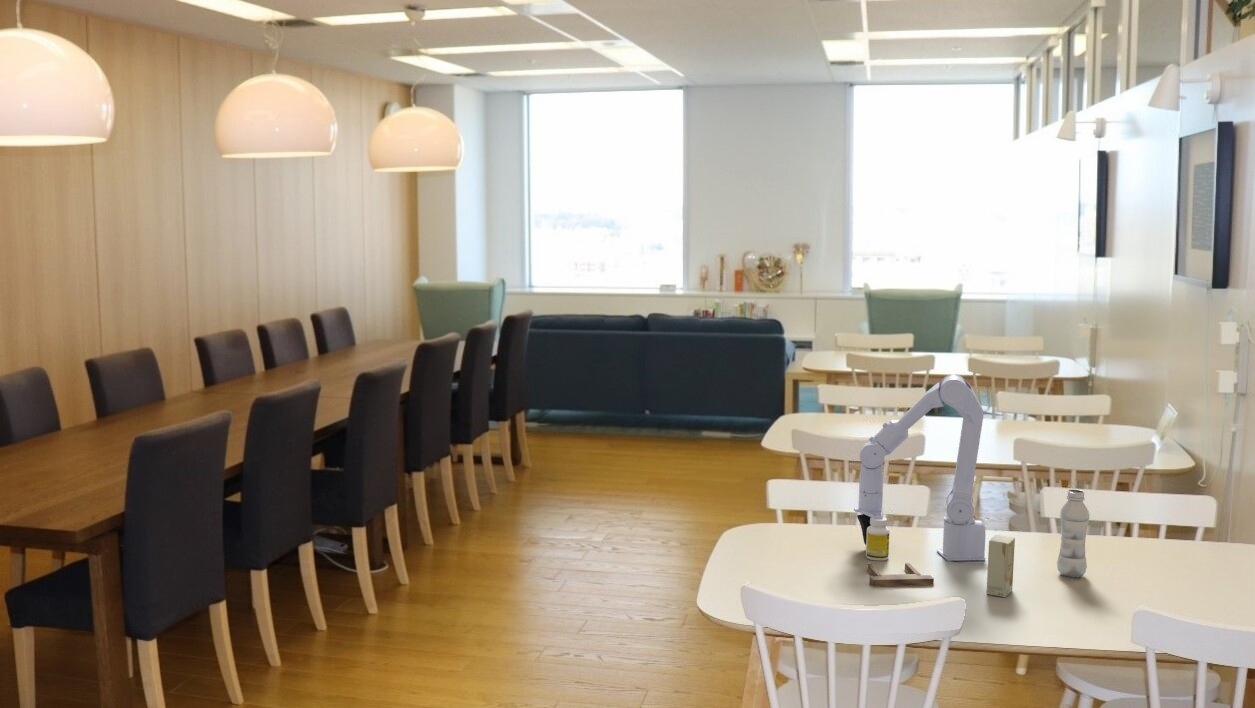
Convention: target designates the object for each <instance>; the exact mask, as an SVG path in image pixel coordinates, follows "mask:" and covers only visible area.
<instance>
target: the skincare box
mask: <svg viewBox="0 0 1255 708" xmlns="http://www.w3.org/2000/svg"><path fill="white" fill-rule="evenodd" d="M1015 540H1016V537H1014V536H1013V537H1012V536H1008V535H1000V534H996V535H994V536H992V538H991V539H989V540H988V553H987V554H988V557H987V576H986V577H987V578H986V592H985V593H986V594H987V595H991V596H996V597H1001V598H1007V596H1008V595H1010V594H1011V592H1012V591H1013V583H1014V561H1015V547H1016V546H1015V543H1016V541H1015Z"/></svg>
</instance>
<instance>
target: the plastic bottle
mask: <svg viewBox="0 0 1255 708" xmlns="http://www.w3.org/2000/svg"><path fill="white" fill-rule="evenodd" d="M1066 499H1067V501H1066V502H1065V504H1064V505H1062V507H1061V509H1060V511H1059V518H1060V527H1061V529H1060V530H1061V531H1060V535H1061V536H1060V540H1061V541H1060V547H1059V553H1058V557H1057V561H1056V567H1057V571H1058V572H1059V574H1060V575H1062V576H1065V577H1070V578H1081V577H1083V576H1084V575H1085V574H1086V571H1087V569H1088V566H1087V557H1086V538H1087V532H1088V531H1087V530H1088V526H1089V522H1090V512H1089V510H1088V508H1087V507H1088V506H1086V505H1085V503H1084V501H1085V500H1086V499H1085V491H1084V490H1081V489H1068V490H1067V495H1066Z"/></svg>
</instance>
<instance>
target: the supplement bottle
mask: <svg viewBox="0 0 1255 708" xmlns="http://www.w3.org/2000/svg"><path fill="white" fill-rule="evenodd" d="M870 524H871V526H869V527H868V528H867V536H866V545H865V557H866V559H868V560H871V561H875V562H876V561H878V562H879V561H881V562H882V561H886V560H888V559H889V556H890V555H889V554H890V553H889V552H890V551H889V549H890V529H889V528H888V527H887V525H888V519H887V518H886V517H884V516H883V519H874V518H873V517H871V518H870Z"/></svg>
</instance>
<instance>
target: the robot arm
mask: <svg viewBox="0 0 1255 708" xmlns="http://www.w3.org/2000/svg"><path fill="white" fill-rule="evenodd" d="M945 404H946V405H948V406H949V407H952V409H955V411H956V412H957V413H958V414H959V415H960V416H961V417H962V423H961V429H960V430H961V431H960V437H959V443H958V450H957V457H956V465H955V470H954V471H955V473H954V478H953V482H952V487H951V490H950V492H949V493H948V495H947V497H946V502H945V503H946V515H945V516H944V517H943V534H942V536H943V539H942V540H943V541H942V548H941V549H939V548H938V549H936V553H938V554H940V555H941V557H943V558H944V559H945V560H946V561H947V562H948V561H951V562H952V561H953V562H957V561H961V562H962V561H986V557H985V555H986V553H985V551H986V527H985V524H984V522H983V521H982V520H979V519H977V520H976V519H975V517H974V514H975V508H974V505H973V504H974V499H973V493H974V492H973V489H974V480H975V474H976V468H977V467H976V466H977V461H978V454H979V449H980V442H981V441H980V440H981V435H982V427H983V421H984V409H983V407H982V405H981V403H980V401H979V399H978V397H977V395H976V393H975V391H974V388H972V385H971V383H969V382H968V381H967V380H966V379H965V378H964V377H962V375H959V374H956V373H951V374H950V373H949V374H948V375H946V376H944V378H942V380H941V382H937V383H935V384H934V385H933V386H932V387H931V388H930V389H928V390H927V391H926V392H925V393H924V394H923V395H922V396H921V397H920V398H919V399H918V400H917V401H916V402H915V403H914V404H913V405H912V406H911V407H910V408H909V409H908V410H907V411H906V412H905V413H904V414H903V415H902V417H901V418H900V419H890V420H889V421H888V422H887V421H885V422H884V423H882V425H881V426H882V428H881V429H880V430H878V432H877V433H876V434H874V436H872V435H871V436H870V437H869V438H868V442H865V443H864V444H863V445H862V446H861V450H860V452H859V460H860V465H859V466H860V467H859V469H860V471H859V482H858V483H859V486H858V487H859V488H858V506H857V507H853V511H854V512H855V513H860V514H857V515H856V518H857V521H858V522H859V525H860V528H861V532H862V533H861V534H862V537H863V538H862V539H863V543H864V545H865V546H866V536H867V528H868V527H869V526H871V524H870V518H871V517H873V518H874V519H883V517H884V516H883V514H884V507H883V500H884V499H883V498H884V493H883V492H884V472H883V470H884V469H883V465H884V462H885V456H886V457H887V456H889V455H891V454H892V453H893V452H894V451H895V450H896V449H897V448H898V447H899V446H900V445H901V444H902V443H903V442H905V440H907V439H908V437H909V429H910V428H911V427H913V426H915V424H916V423H918V421H920V420H921V418H923V417H924V416H925V415H926V414H928V413H929V412H930V411H931V410H932V409H937V408H944V407H945V406H944V405H945Z"/></svg>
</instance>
